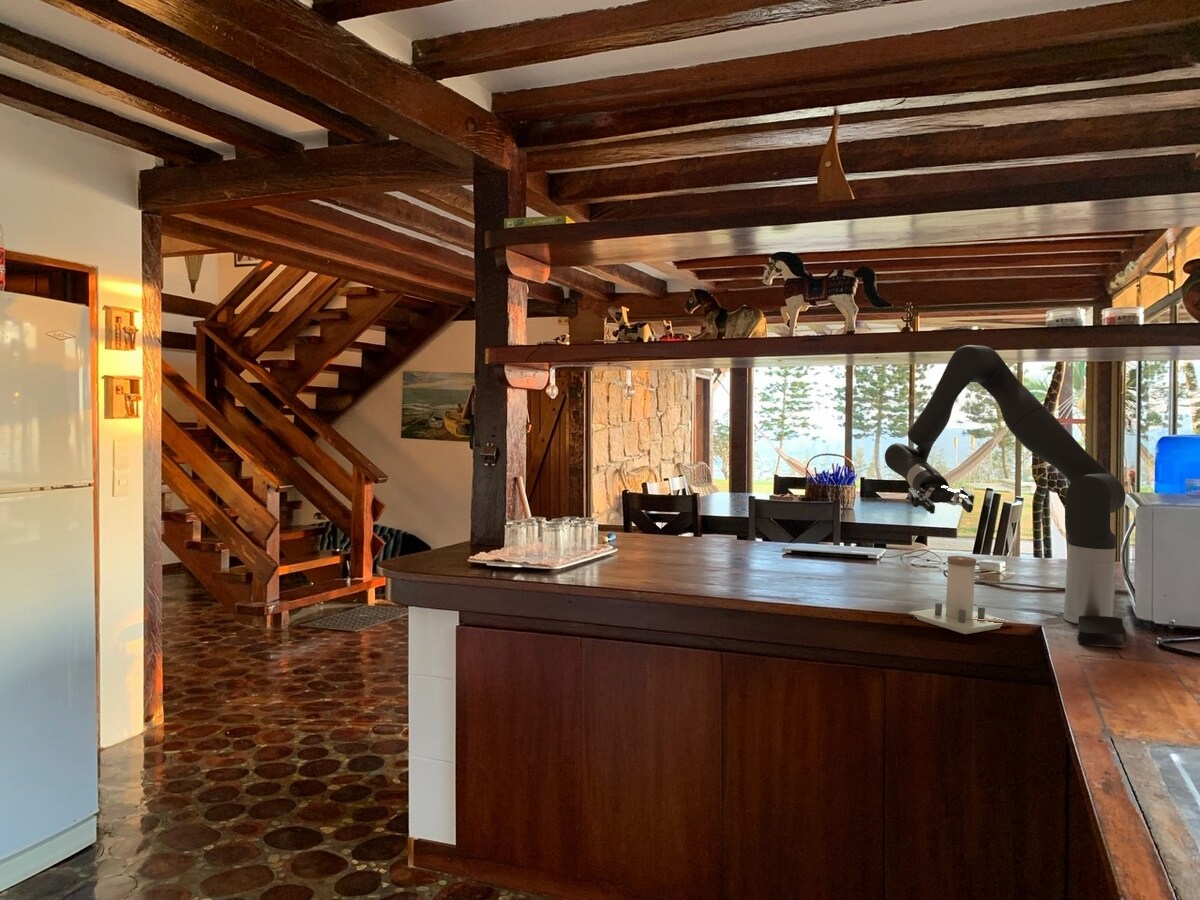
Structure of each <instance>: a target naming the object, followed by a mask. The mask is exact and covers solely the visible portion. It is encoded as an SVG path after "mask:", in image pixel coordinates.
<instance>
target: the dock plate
mask: <svg viewBox="0 0 1200 900" xmlns="http://www.w3.org/2000/svg"><path fill="white" fill-rule="evenodd" d="M985 612H986V607H983V606H978V607H977V611H976V610H973V617H976V616H978V619H985V617H986V618H989V619H993V618H996V619H1000V620H1001V619H1002V620H1006V621H1010V620H1007V619H1003V618H1000V617H996V616H993V615H989V614H986V613H985ZM907 613H908V614H911V615H914V616H915V617H916V618H917V619H916V620H919V621H921V622H924V623H927V624H931V625H935V626H937V627H941V628H944V629H947V630H951V631H954V632H957V633H960V634H964V635H968V634H975V633H980V632H985V631H991V630H997V629H1001V628H1000V627H1001V626H1002V624H1003V623H994V622H988V621H977V620H972V619H970V620H965V619H966V611H965V610H959V617H958V619H953V618H949V617H947V616H946V606H943V604H942V603H940V602H935V604H934V608H928V609H922V610H916V611H915V610H914V611H909V612H907ZM1010 622H1012V620H1011V621H1010Z"/></svg>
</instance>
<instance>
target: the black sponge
mask: <svg viewBox="0 0 1200 900" xmlns="http://www.w3.org/2000/svg"><path fill="white" fill-rule="evenodd" d="M1123 621H1124V620H1123V618H1121V617H1114V616H1113V617H1108V616H1079V619H1078V624H1077V625H1076V628H1077V629H1078V634H1077V637H1076V639H1077V642H1078V643H1079V644H1081V645H1085V646H1092V647H1107V648H1109V647H1111V648H1125V647H1126V646H1127V631H1126V629H1125V626H1124V622H1123Z"/></svg>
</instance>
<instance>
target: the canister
mask: <svg viewBox="0 0 1200 900" xmlns="http://www.w3.org/2000/svg"><path fill="white" fill-rule="evenodd" d="M976 565H977V559H976V558H973V557H970V556H963V555H962V556H961V555H952V556H951V555H949V556H947V574H946V575H947V576H946V577H947V578H946V579H947V580H946V581H947V582H946V598H945V599H946V601H945V607H946V616H947V617H949V618H953V619H958V617H959V610H965V611H966V619H965V620H970V619H972V618H973V611H974V599H975V596H974V595H975V579H976V578H975V576H976Z"/></svg>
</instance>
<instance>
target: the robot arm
mask: <svg viewBox="0 0 1200 900" xmlns="http://www.w3.org/2000/svg"><path fill="white" fill-rule="evenodd" d="M971 383H976V384H978V385H980V386H981V387H982V388H983V389H984V390H986V392H987V393H988V394H989V395H990V396H992V397H993V399H994V400H995V401H996V403H997V405H998V407H999V410H1000V412H1001V416H1002V419H1003V421H1004V423H1005V426H1006V427H1007V428H1008V430H1009V431H1010V432H1011V433H1012V434H1013V436H1015V438H1016V439H1017V440H1018V441H1019V442H1020V443H1021V444H1022V445H1023V446H1024V447H1025V448H1026V449H1027V450H1028V451H1029V452H1031V453H1033V454H1034V455H1035V456H1037V458H1039V459H1041V460H1043V461H1044V462H1046V463H1047V464H1049V465H1051V467H1053V468H1054V469H1056V470H1058V472H1060V473H1061V474H1062V476H1064V477H1065V478H1066V480H1067V481H1068V482H1069V484H1068V486H1067V489H1066V493H1065V500H1064V501H1065V502H1064V503H1065V504H1064V505H1065V510H1064V511H1065V512H1064V513H1065V516H1064V528H1065V532H1066V534H1067V537H1068V538H1067V553H1066V554H1067V555H1066V556H1067V557H1066V571H1065V572H1066V573H1065V574H1066V575H1065V585H1064V586H1065V589H1064V603H1063V604H1064V605H1063V619H1064V620H1065V621H1067V622H1070V623H1072V624H1078V619H1079V616H1108V617H1114V607H1115V593H1116V591H1115V590H1116V581H1115V570H1116V569H1115V567H1116V554H1117V553H1116V552H1117V536H1116V534H1115V533H1114V532H1113V531H1112V529H1111V514H1112V513H1115V512H1117V511H1119V510H1120V509H1122V507H1123V506H1124V505H1125V502H1126V490H1125V488H1124V486H1123V484H1122V482H1121V481H1120V480H1119V479H1118V478H1117V477H1116V476H1115V475H1114V474H1112V473H1111V472H1110V471H1109V470H1108V469H1106V467H1104V466H1103V465H1102V464H1101V463H1100V462H1098V461H1097V460H1096V459H1095V458H1093V457H1092V456H1091V455H1090V454H1089V453H1088V452H1087V451H1086V450H1085V449H1084V447H1082V445H1081V444H1080V443H1079V442H1078V441H1077V440H1076V439H1075V437H1073V435H1071V433H1070V432H1069V431H1068V430H1067V429H1066V428H1065V426H1063V424H1061V422H1060V421H1059V420H1058V419H1057V418H1056V417H1055V415H1053V413H1052V412H1050V410H1049V409H1048V408H1047V407H1046V406H1045V405H1044V404H1043V403H1041V402H1040V401H1039V399H1038V398H1037V397H1036V396H1035V395H1034V394H1033V393H1032V392H1031V391H1030V390H1029V389H1028V388H1027V387H1026V386H1025V385H1024V384H1022V382H1021V381H1019V379H1018V378H1017V377H1016V375H1015V374H1014V372H1012V370H1011V369H1010V368H1009V366H1008V365H1007V364H1006V362H1005V361H1004V360H1003V359H1002V357H1001V355H1000V354H999V353H998V352H997V351H996V350H994V349H993V348H991V347H990V346H986V345H975V344H968V345H963V346H961V347H958V348H957V349H956V350H955V351H954V353H952V356H951V357H950V359H949V361H948V362H947V365H946V367H945V369H944V371H943V374H942V375H941V377H940V380H939V382H938V383H937V385H936V388H935V389H934V391H933V393H932V395H931V398H930V399H929V401H928V402H927V404H926V406H925V407H924V409H923V410H921V411H922V412H921V413H920V414H919V416H918V417H917V418H916V419H915V421H914V422H913V424H912V425H911V427H910V429H909V430H908V432H907V437H908V440H910V441H911V442H912V443H913V444H914V445H916V446H917V447H916V448H914V447H912V446H908V445H906V444H903V443H900V442H897V443H893V444H890V445H889V446H888V447H887V449H886V451H885V452H884V462H885V464H886V466H887V467H888V468H889V469H890V470H892V471H893V472H894V473H896V474H897V475H899V476H901V477H902V478H904V480H905V481H906V482H907V483H908V484H909V486H910V487H909V488H908V491H907V499H908V501H909V503H910V504H911V505H912V506H913V507H915V508H918V507H919V506H920V507H921V508H923V509H925V510H926V511H927V512H928V513H930V514H931V515H934V514H935V513H936V512H935V510H936V505H935V504H938V503H942V504H948V505H951V506H961V507H962V508H963V509H964V510H965V512H966V513H969V514H970V513H972V511H973V509H974V502H975V494H974V493H973V492H971V490H969V488H966V487H965V486H959V489H954V488H953V487H951V486H950V484H949V483H948V481H947V479H946V478H944V476H943V475H942V474H941V473H940V472H939V471H938V470H937V469H936V468H934V467H933V466H932V465H930V463H929V462H928V458H929V456H930V452H931V451H932V448H933V447H934V444H935V442H936V441H937V440H938V438H939V437H940V436H941V434H942V432H944V430H945V428H947V425H948V423H949V421H950V418H951V416H952V411H953V408H954V404H955V403H956V400H957V398H958V397H959V396H960V394H961V393H962V392H963V390H964V389H965V388H966V387H967V386H968V385H970V384H971ZM952 499H953V500H952ZM960 499H961V501H960Z"/></svg>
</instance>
